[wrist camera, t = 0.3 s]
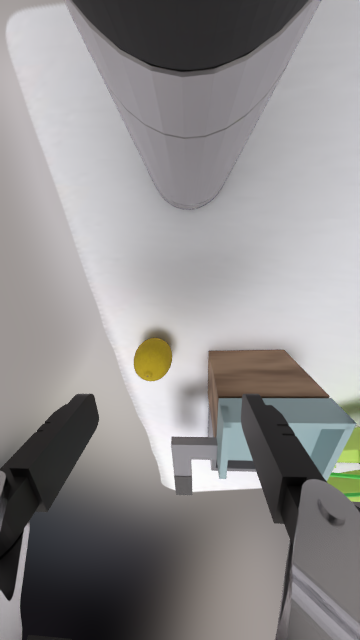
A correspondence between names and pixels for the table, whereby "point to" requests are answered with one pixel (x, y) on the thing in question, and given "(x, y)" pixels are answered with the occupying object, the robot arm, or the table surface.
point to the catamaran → (352, 482)
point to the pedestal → (256, 377)
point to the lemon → (152, 359)
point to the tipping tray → (230, 444)
